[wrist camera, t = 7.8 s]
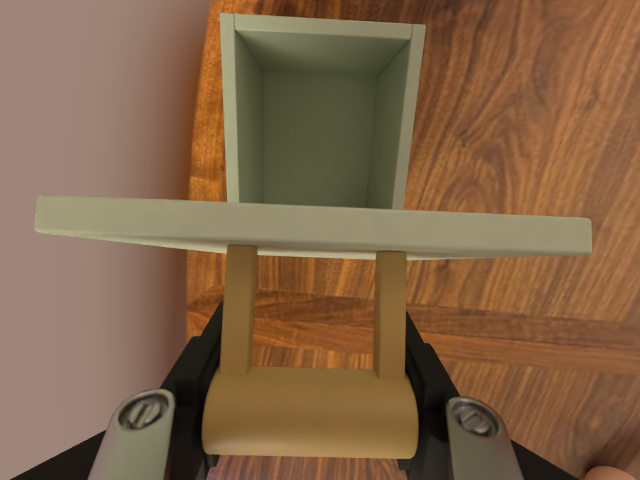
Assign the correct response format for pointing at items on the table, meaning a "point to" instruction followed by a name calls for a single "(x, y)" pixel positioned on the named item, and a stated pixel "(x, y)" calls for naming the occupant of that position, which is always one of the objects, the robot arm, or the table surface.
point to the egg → (607, 474)
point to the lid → (311, 241)
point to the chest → (318, 109)
